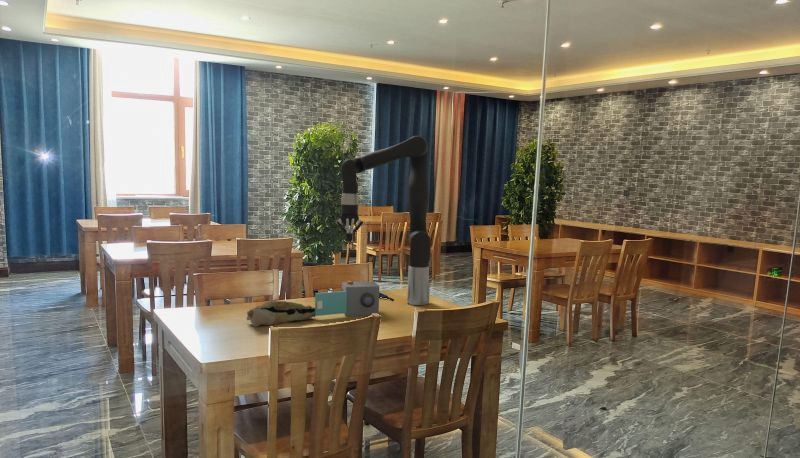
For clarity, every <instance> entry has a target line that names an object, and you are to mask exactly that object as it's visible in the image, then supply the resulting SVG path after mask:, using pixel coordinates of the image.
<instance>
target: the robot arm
mask: <svg viewBox="0 0 800 458" xmlns="http://www.w3.org/2000/svg"><path fill="white" fill-rule="evenodd" d="M428 153H429V144H428V141H427V140H426V138H424V137H423V136H421V135H413V136H411V137H409V138H408V139H406V140H404V141H402V142H399V143H398V144H395V145H392V146H389V147H386V148H382V149H378V150H374V151H372V152H369V153H368V152H367V153H365V154H364V155H362V156H359V157H355V158H347V159H345V160H344V161H343V162H342V163H341V173H340V174H341V179H342V180H341V181H342V189H341V190H342V191H341V192H342V193H341V200H340V201H341V207H340V208H341V211H340V213H341V214H340V216H339V218H338V220H335V223H336V225H337V226H338V227H339V229H340V231H342V232H343V233H345V240H346V241H347V242H350V243H351V242H352V241H353V234H354V233H357V232H358V230H359V229H360V228H361V226H362V225H363V224H364V221H362V220H361V219H360V217H359V183H358V181H357V174H360V173H362V172H366V171H368V170H371V169H376V168H379V167H382V166H384V165H387V164H389V163H392V162H394V161H397V160H400V159H405V158H409V163H410V165H409V167H410V168H409V169H410V170H409V175H408V176H409V177H408V184H407V185H408V186H407V199H408V200H407V201H408V211H409V212H408V213H409V231H408V232H409V233H408V243H409V247H410V248H409V259H408V267H407V268H408V272H407V275H408V276H407V300H406V301H407V304H408V303H409V304H408V305H412V306H425V305H430V292H431V291H430V287H431V284H430V283H429V276H430V272H429V271H430V260H431V248H432V246H431V245H432V240H431V236H430V235H429V233H428V230H427V213H428V209H429V208H428V207H429V199H430V197H429V193H430V192H429V191H430V189H429V179H428V178H429V177H428V169H427V168H428V167H427V165H428ZM342 223H343V225H344V227H345V228H344V227H343V225H342Z"/></svg>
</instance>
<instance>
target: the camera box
mask: <svg viewBox="0 0 800 458" xmlns="http://www.w3.org/2000/svg"><path fill="white" fill-rule="evenodd" d="M341 291H347V303H346V313H343V315H344V316H345V317H355V316H359V317H360V316H371V315H370V314H372V313H378V314H379V315H380V313H379V312H380V310H379V309H380V299H379V293H380V285H379V284H378V283H376V281H354V280H347V281H342V282H341Z"/></svg>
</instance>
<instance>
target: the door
mask: <svg viewBox="0 0 800 458" xmlns="http://www.w3.org/2000/svg"><path fill="white" fill-rule="evenodd" d="M346 303H347V291H342V290H341V291H340V290H339V291H327V292H317V293H316V292H315V293H314V308H315V317H319V316H321V317H322V316H330V315H341V314H344V313H346Z"/></svg>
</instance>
